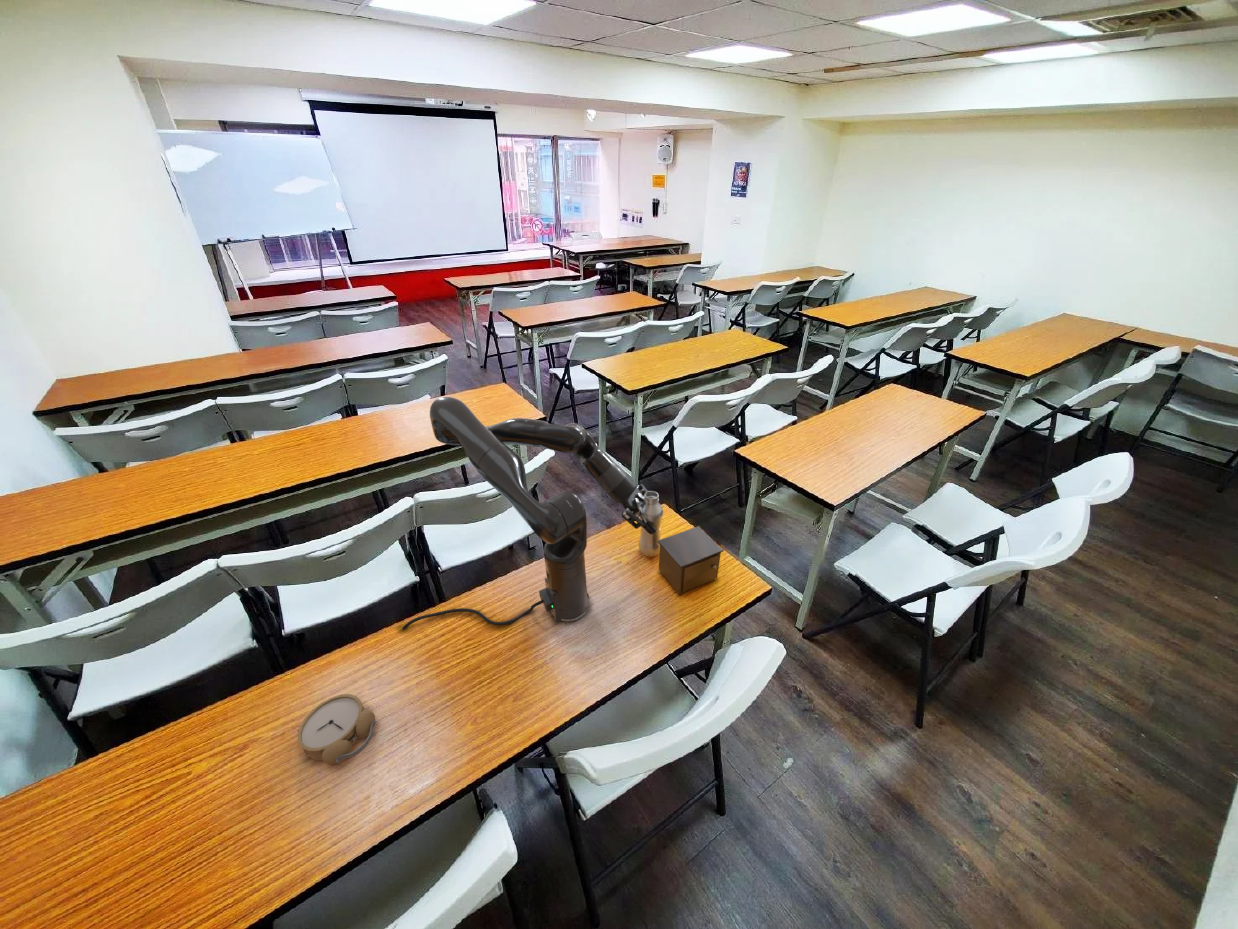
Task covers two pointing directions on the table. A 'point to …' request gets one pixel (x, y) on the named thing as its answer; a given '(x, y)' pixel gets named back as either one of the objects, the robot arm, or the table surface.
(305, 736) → the alarm clock
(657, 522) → the silver metal bottle
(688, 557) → the cabinet
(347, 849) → the table surface
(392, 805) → the table surface
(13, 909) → the table surface
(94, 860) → the table surface
